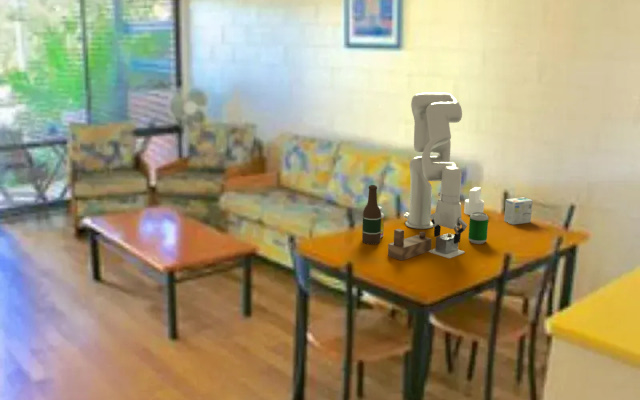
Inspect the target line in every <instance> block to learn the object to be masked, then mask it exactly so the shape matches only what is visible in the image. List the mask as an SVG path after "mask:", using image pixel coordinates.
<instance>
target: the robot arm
mask: <svg viewBox="0 0 640 400" xmlns="http://www.w3.org/2000/svg"><path fill="white" fill-rule="evenodd" d="M410 108H411V112H412V116H413V120H414V127H413V128H414V129H413V131H414V132H413V148H414V151H415V152H416V153H419V154H422V155H419V156H415V157H413V158H411V160H410V161H409V174H410V194H409V195H410V196H409V212H406V211H405V213H403V216H402V217H403V218H406V219H407V220H406V221H405V226H407V227H408V228H410V229H411V228H412V229H417V230H418V229H419V230H425V229H430V228H431V229H432V228H434V229H433V237H434V238H436V237H438V236H441V229H442V228H441V227H444V228H446V229H447V228H448V229H450V230H454V232H455V233H453V235H454V243H455V244H456V243H458V244H459V243H460V242H461V235H462V233H464V231H465V230H466V229H467V227H468V224H467V223H466V222H465V220H463V219H462V204H461V202H460V197H461V186H462V183H461V182H462V175H463V174H462V169H461V168H460V166H459V164H458V163H456V162H454V161H451V147H452V146H451V144H452V143H451V139H452V135H451V127H450V124H451V123H453V124H454V123H459V122H460V121H461V120H462V118H463V109H462V105H461V104H460V101H458V99H456V97H455V96H454V95H453V94H451V93H449V92H421V93H416V94H414V95H413V96H412V98H411V104H410ZM431 154H437V155H431ZM430 182H440V192H438V193H437V194H438V196H439V199H437V203H436V207H435V212H434V213H432V201H433V200H432V199H433V186H432V184H431V183H430Z"/></svg>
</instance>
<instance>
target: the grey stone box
mask: <svg viewBox="0 0 640 400" xmlns="http://www.w3.org/2000/svg"><path fill="white" fill-rule="evenodd" d="M434 249H435V252H439V253H442V254H445V255H446V254H449V253H452V252H454V251H457V250H459V243H456V244H455V243H454V233H451V232H448V233H444V234H442V235H441V234H440V236H437V237H435V248H434Z"/></svg>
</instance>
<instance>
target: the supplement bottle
mask: <svg viewBox="0 0 640 400" xmlns="http://www.w3.org/2000/svg"><path fill="white" fill-rule="evenodd" d="M378 207H379V209H380V212H381V235H380V239H381V238H382V237H383V236H384V231H385V228H384V227H385V224H384V223H385V214H384V213H383V212H382V210H383V207H382V206H380V205H378Z"/></svg>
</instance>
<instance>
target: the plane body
mask: <svg viewBox="0 0 640 400" xmlns="http://www.w3.org/2000/svg"><path fill="white" fill-rule="evenodd" d="M426 234H427V233H426V232H425V231H420V232H419V234H415V235H413V236H410V237H407V238H405V230H404V229H401V228H397V229H394V231H393V242H390V243H388V246H387V256H388V257H389V258H393V259H396V260H399V261H405V260H407V259H410V258H413V257H416V256H419V255H422V254H425V253H429V250H432V243H433V242H432V241H433V239H432V238H430V237H427V236H426Z"/></svg>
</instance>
